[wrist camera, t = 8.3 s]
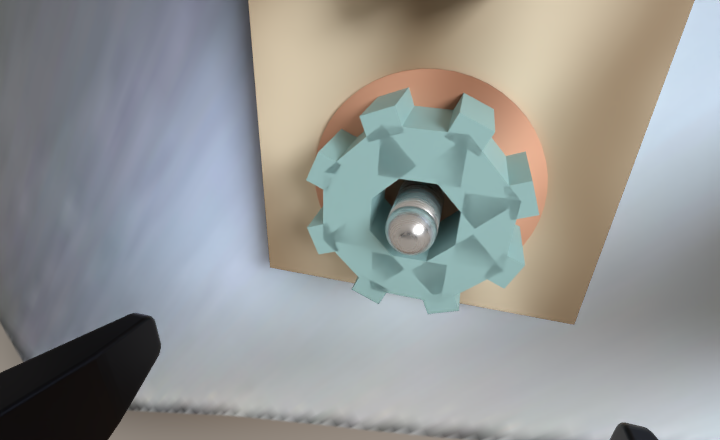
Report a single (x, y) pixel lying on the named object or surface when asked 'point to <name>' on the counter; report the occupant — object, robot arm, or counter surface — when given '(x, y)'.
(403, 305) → the counter surface
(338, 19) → the gear board
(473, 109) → the loose gear
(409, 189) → the steel pegs
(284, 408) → the counter surface
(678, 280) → the counter surface
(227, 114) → the counter surface
